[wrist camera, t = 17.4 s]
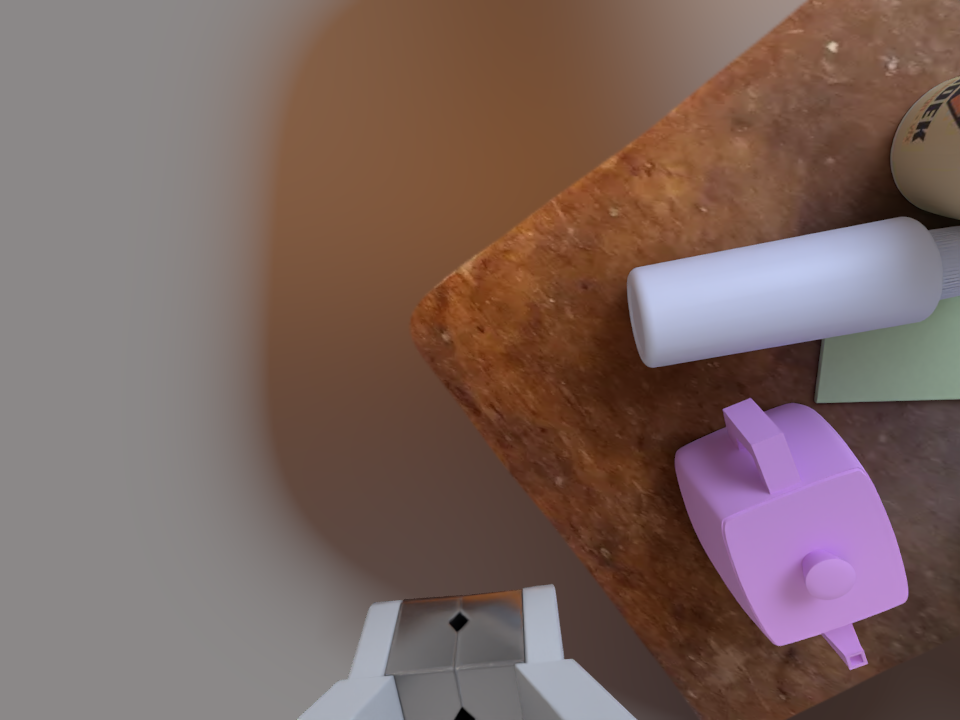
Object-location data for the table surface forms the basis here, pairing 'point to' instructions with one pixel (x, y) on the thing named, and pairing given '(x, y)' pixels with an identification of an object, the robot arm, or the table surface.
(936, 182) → the coffee cup
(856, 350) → the mat
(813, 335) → the spray bottle
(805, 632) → the teapot
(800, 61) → the table surface
